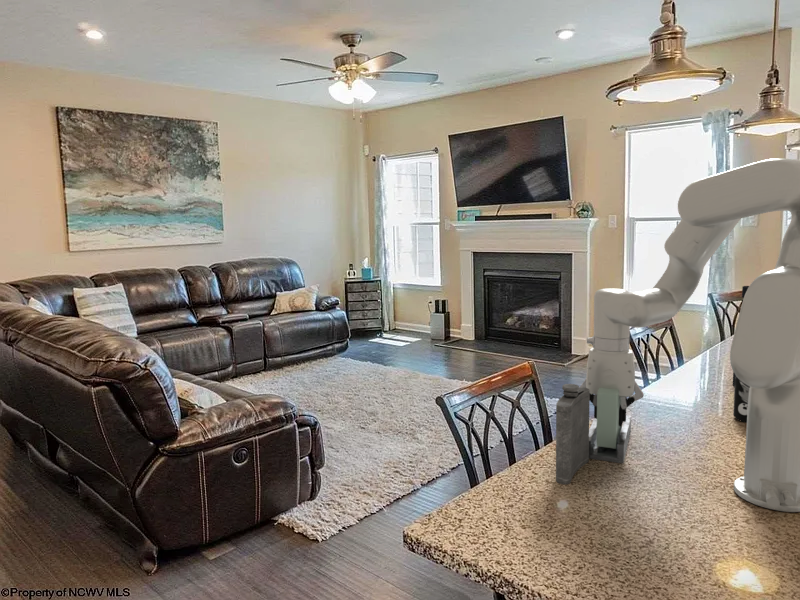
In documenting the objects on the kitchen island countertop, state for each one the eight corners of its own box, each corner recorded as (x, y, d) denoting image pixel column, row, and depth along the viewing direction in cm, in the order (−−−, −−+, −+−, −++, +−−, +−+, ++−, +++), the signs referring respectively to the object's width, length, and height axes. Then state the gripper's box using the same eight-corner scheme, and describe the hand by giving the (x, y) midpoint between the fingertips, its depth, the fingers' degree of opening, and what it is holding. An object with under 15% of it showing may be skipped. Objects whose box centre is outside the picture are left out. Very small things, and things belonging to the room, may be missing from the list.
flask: (549, 481, 114) (550, 393, 111) (573, 456, 125) (574, 375, 123) (567, 485, 112) (568, 396, 109) (590, 459, 123) (591, 378, 121)
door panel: (615, 448, 124) (616, 394, 123) (596, 446, 126) (597, 392, 124) (621, 427, 137) (622, 378, 135) (604, 425, 138) (604, 376, 137)
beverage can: (768, 424, 140) (771, 376, 139) (738, 423, 142) (741, 376, 140) (757, 415, 147) (759, 369, 145) (729, 414, 148) (731, 369, 147)
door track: (623, 463, 121) (623, 445, 120) (584, 457, 124) (584, 440, 124) (630, 431, 139) (631, 415, 138) (596, 427, 142) (596, 411, 142)
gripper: (569, 345, 129) (569, 423, 131) (651, 350, 121) (649, 433, 124) (575, 338, 135) (574, 413, 138) (652, 343, 128) (650, 422, 130)
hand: (609, 422), depth 131 cm, fingers closed on door panel, 4 cm apart
